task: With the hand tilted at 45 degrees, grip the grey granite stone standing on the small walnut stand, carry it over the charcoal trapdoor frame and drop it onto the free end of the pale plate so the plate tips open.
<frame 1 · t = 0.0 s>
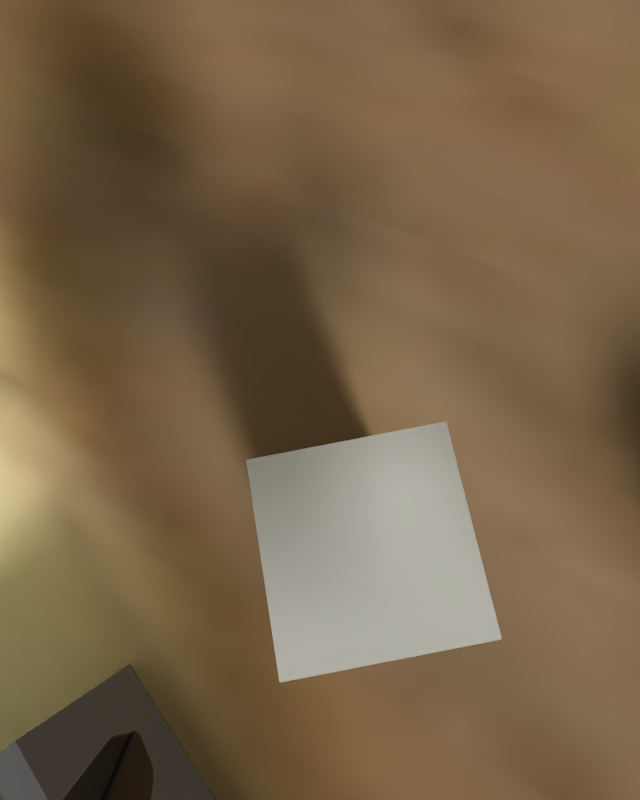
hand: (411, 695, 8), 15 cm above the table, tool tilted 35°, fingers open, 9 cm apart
stone: (357, 536, 18), point 5 cm above the table, touching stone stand
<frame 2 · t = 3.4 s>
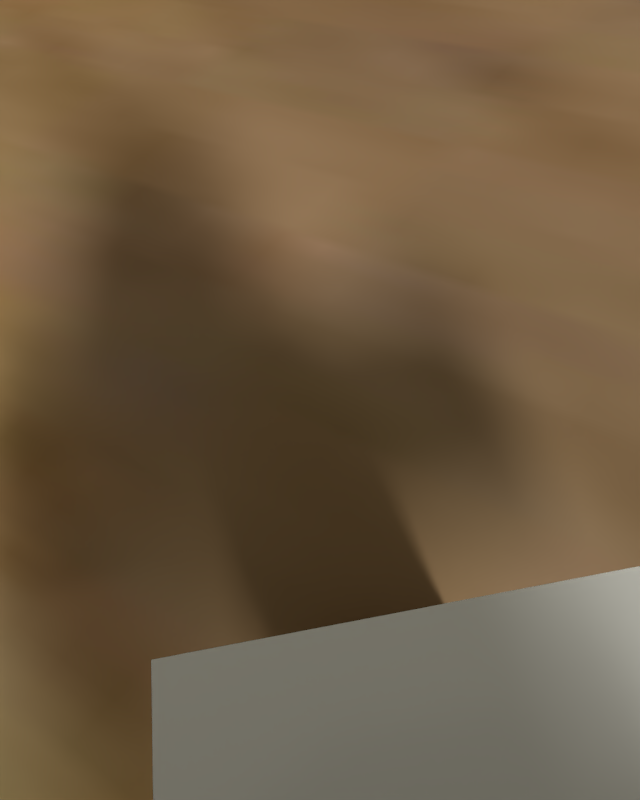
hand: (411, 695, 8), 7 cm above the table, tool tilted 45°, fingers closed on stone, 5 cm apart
stone: (418, 765, 10), point 5 cm above the table, touching gripper, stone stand
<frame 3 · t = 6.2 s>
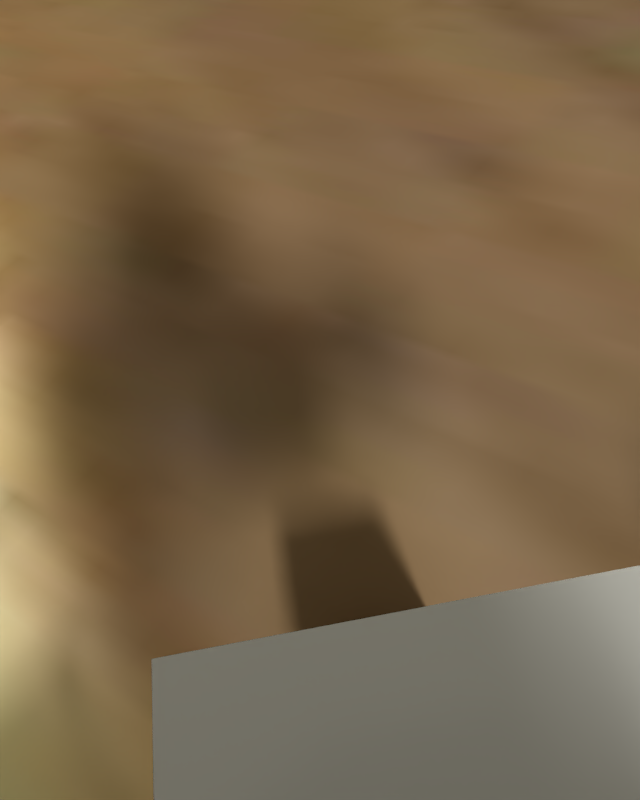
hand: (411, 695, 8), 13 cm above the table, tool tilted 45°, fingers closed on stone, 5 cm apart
stone: (418, 764, 10), point 11 cm above the table, touching gripper
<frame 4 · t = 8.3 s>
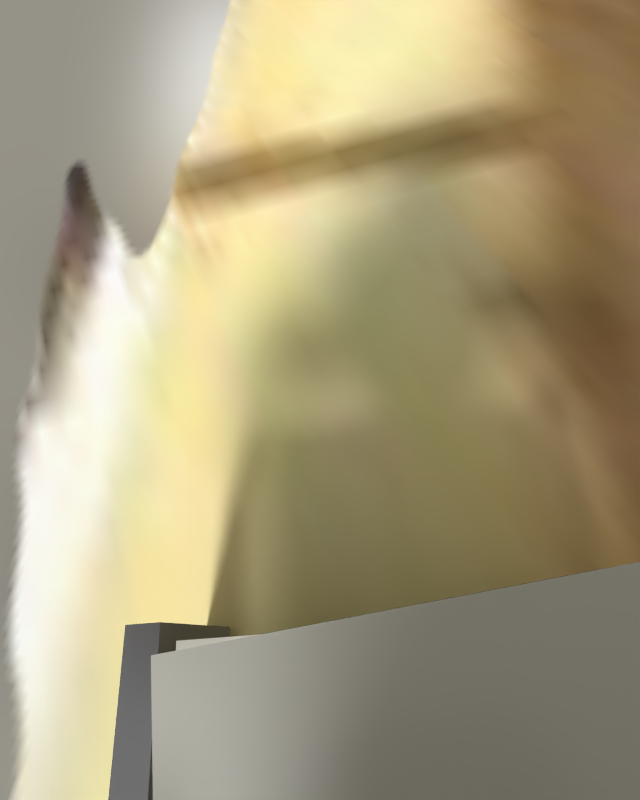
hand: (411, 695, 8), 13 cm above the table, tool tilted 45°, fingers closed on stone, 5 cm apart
stone: (417, 762, 10), point 11 cm above the table, touching gripper
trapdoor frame: (397, 775, 18), on the table
when the fingers open (12 cm above the table, at t = 9.1 s): stone drops 5 cm, resting on trapdoor.
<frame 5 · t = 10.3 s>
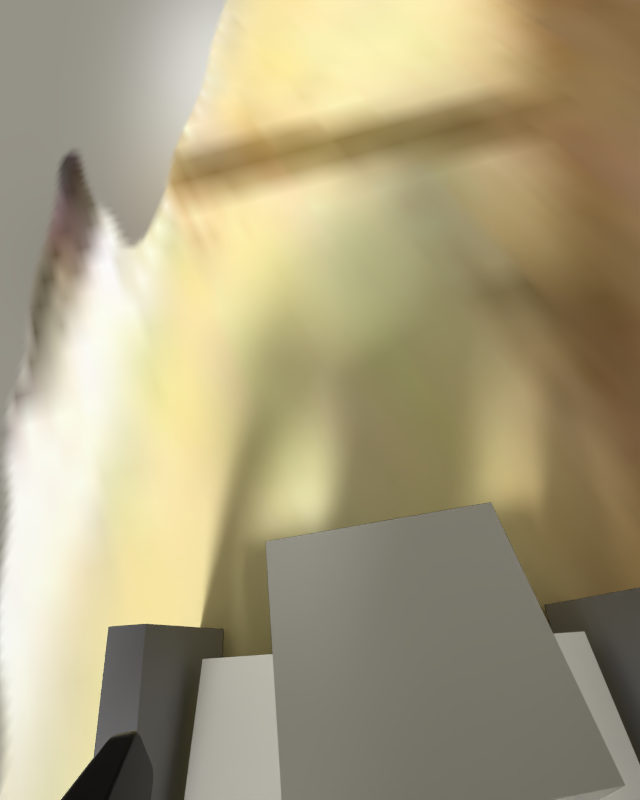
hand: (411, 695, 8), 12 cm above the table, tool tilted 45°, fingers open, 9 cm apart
stone: (402, 738, 14), point 5 cm above the table, tilted 21°, touching trapdoor
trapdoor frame: (400, 786, 17), on the table
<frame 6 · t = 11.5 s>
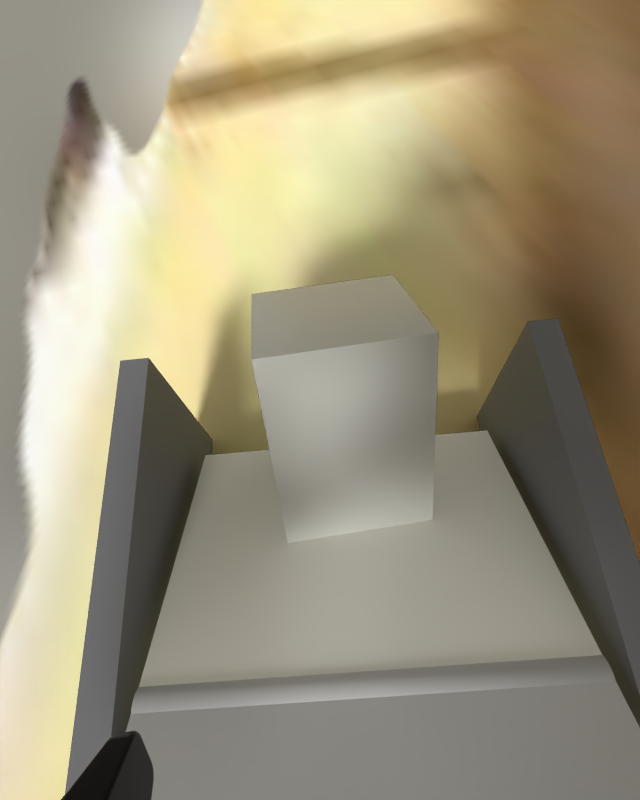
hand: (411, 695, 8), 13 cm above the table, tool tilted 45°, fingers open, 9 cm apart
stone: (348, 482, 19), point 4 cm above the table, tilted 32°, touching trapdoor
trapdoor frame: (353, 543, 22), on the table
trapdoor: (362, 637, 15), point 5 cm above the table, hinge at -32.1°, touching stone
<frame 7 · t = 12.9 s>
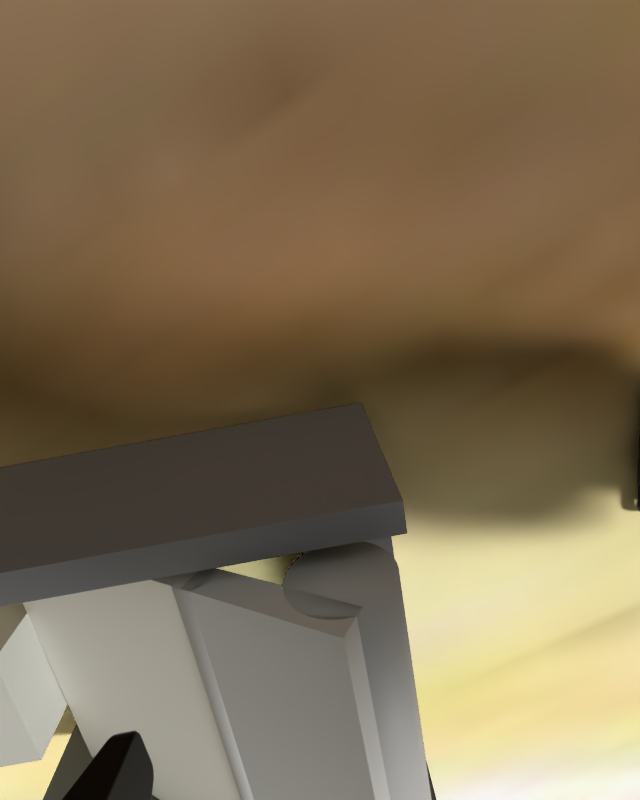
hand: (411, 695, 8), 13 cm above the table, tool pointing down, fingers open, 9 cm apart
stone: (49, 657, 21), point 2 cm above the table, tilted 90°, touching trapdoor
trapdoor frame: (149, 596, 23), on the table
trapdoor: (210, 681, 18), point 5 cm above the table, hinge at -32.8°, touching stone
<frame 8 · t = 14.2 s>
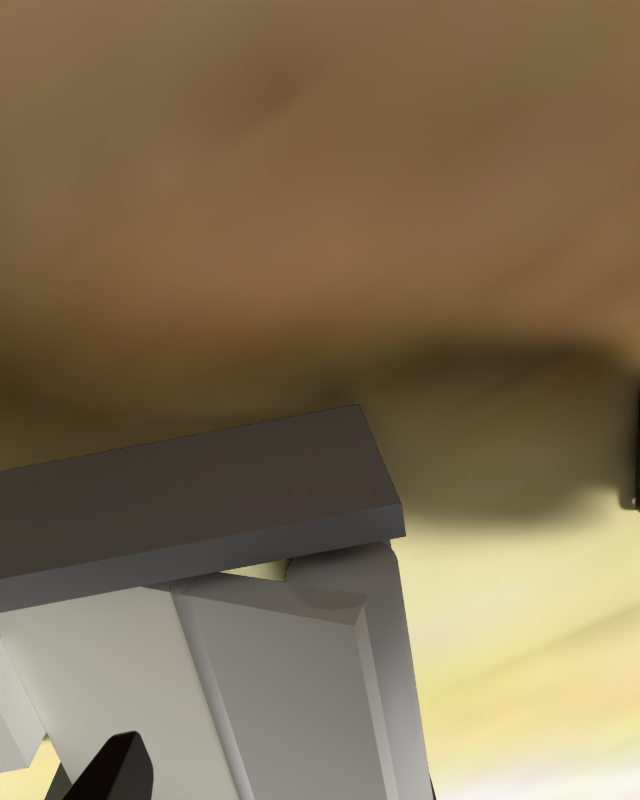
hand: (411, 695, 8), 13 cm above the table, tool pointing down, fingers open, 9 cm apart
stone: (37, 664, 20), point 2 cm above the table, tilted 90°
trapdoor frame: (148, 599, 23), on the table
trapdoor: (203, 689, 17), point 6 cm above the table, hinge at -26.9°
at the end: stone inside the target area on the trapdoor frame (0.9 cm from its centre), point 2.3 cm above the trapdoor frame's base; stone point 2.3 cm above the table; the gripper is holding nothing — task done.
